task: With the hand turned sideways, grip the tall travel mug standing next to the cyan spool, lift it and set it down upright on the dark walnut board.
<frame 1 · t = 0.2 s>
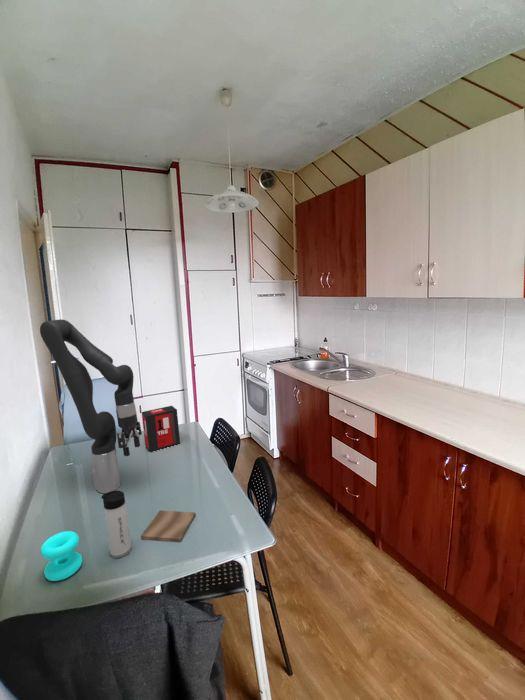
hand: (132, 451, 145), 17 cm above the table, tool pointing down, fingers open, 8 cm apart
walnut board: (169, 526, 123), on the table
cyan spool: (64, 570, 105), on the table
travel mug: (120, 551, 112), on the table
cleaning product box: (162, 446, 191), on the table
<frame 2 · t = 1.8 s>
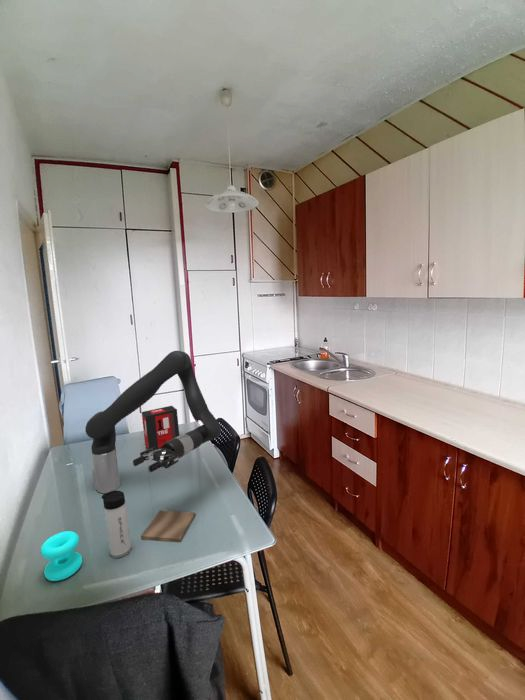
hand: (141, 466, 117), 24 cm above the table, tool horizontal, fingers open, 8 cm apart
nothing on the table moved.
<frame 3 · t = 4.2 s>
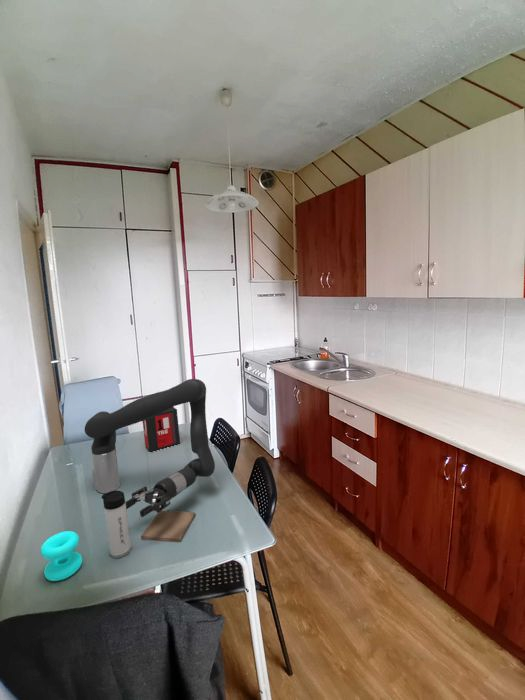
hand: (132, 510, 115), 11 cm above the table, tool horizontal, fingers open, 8 cm apart
nothing on the table moved.
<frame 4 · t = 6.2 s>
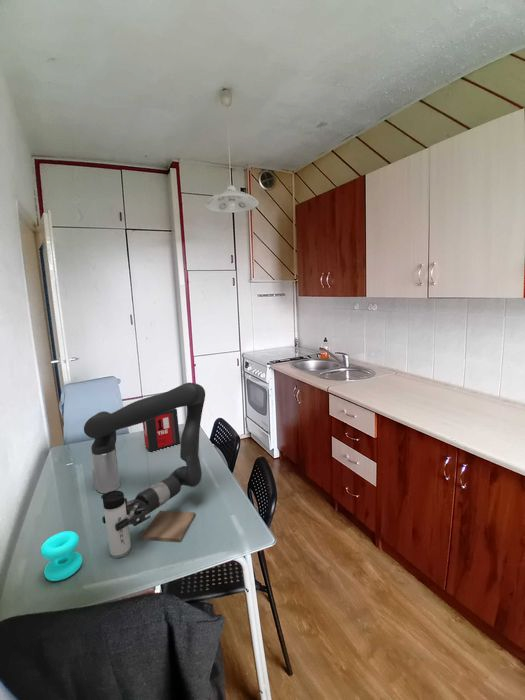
hand: (109, 524, 108), 11 cm above the table, tool horizontal, fingers closed on travel mug, 6 cm apart
travel mug: (120, 551, 112), on the table, touching gripper
everything else where it was.
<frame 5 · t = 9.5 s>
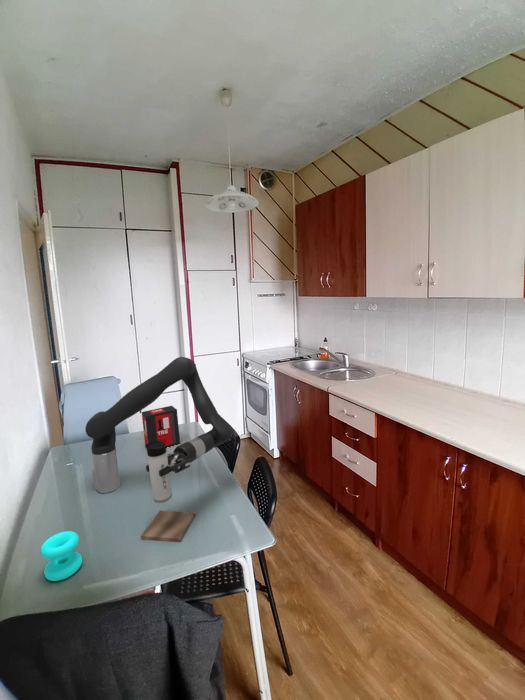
hand: (153, 471, 116), 23 cm above the table, tool horizontal, fingers closed on travel mug, 6 cm apart
travel mug: (162, 498, 120), point 12 cm above the table, touching gripper
everything else where it was.
when the fingers open (13 cm above the table, at t = 12.4 s): travel mug drops 1 cm, resting on walnut board.
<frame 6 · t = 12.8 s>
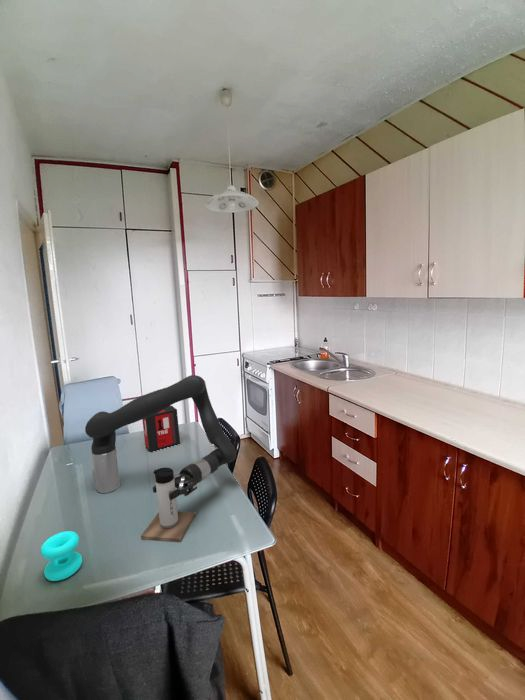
hand: (161, 493, 119), 14 cm above the table, tool horizontal, fingers open, 8 cm apart
travel mug: (168, 523, 123), point 1 cm above the table, touching walnut board
everything else where it was.
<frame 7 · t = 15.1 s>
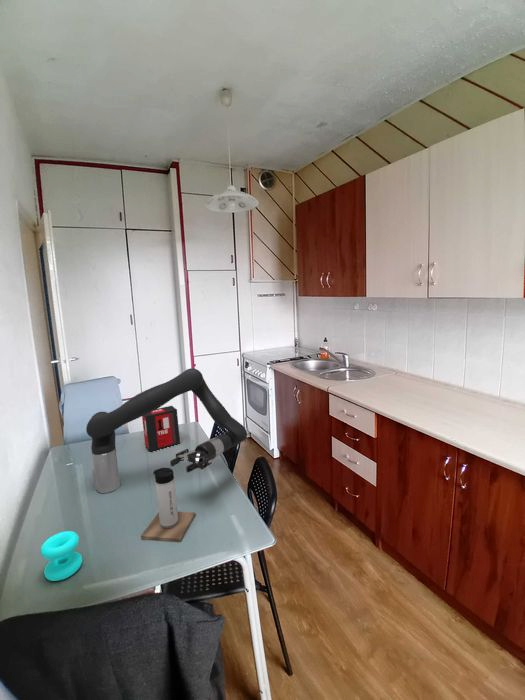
hand: (178, 466, 127), 19 cm above the table, tool horizontal, fingers open, 8 cm apart
nothing on the table moved.
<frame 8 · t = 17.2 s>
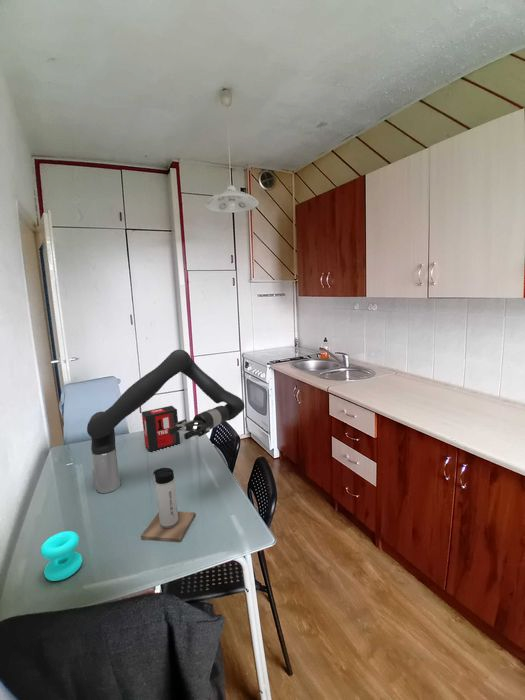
hand: (176, 434, 128), 30 cm above the table, tool horizontal, fingers open, 8 cm apart
nothing on the table moved.
at the end: travel mug inside the target area on the walnut board (0.4 cm from its centre), point 1.0 cm above the walnut board's base; travel mug tilted 0°; the gripper is holding nothing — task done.
